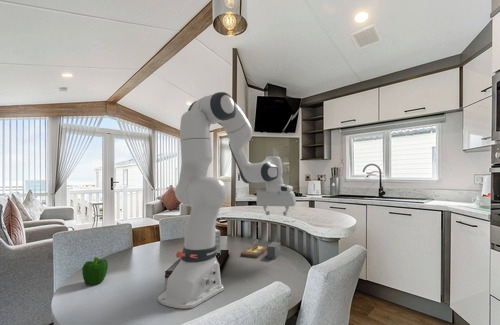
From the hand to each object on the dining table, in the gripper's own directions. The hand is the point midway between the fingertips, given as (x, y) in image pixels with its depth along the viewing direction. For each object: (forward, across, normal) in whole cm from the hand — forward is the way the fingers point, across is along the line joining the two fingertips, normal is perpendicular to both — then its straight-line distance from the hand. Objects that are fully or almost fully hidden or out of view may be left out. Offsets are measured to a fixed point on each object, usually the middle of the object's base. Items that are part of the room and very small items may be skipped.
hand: (276, 215), depth 121 cm
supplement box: (+19, -31, -14) cm, 39 cm away
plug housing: (+20, -2, -2) cm, 20 cm away
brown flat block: (+20, -13, -1) cm, 23 cm away
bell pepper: (+17, -53, -58) cm, 81 cm away
